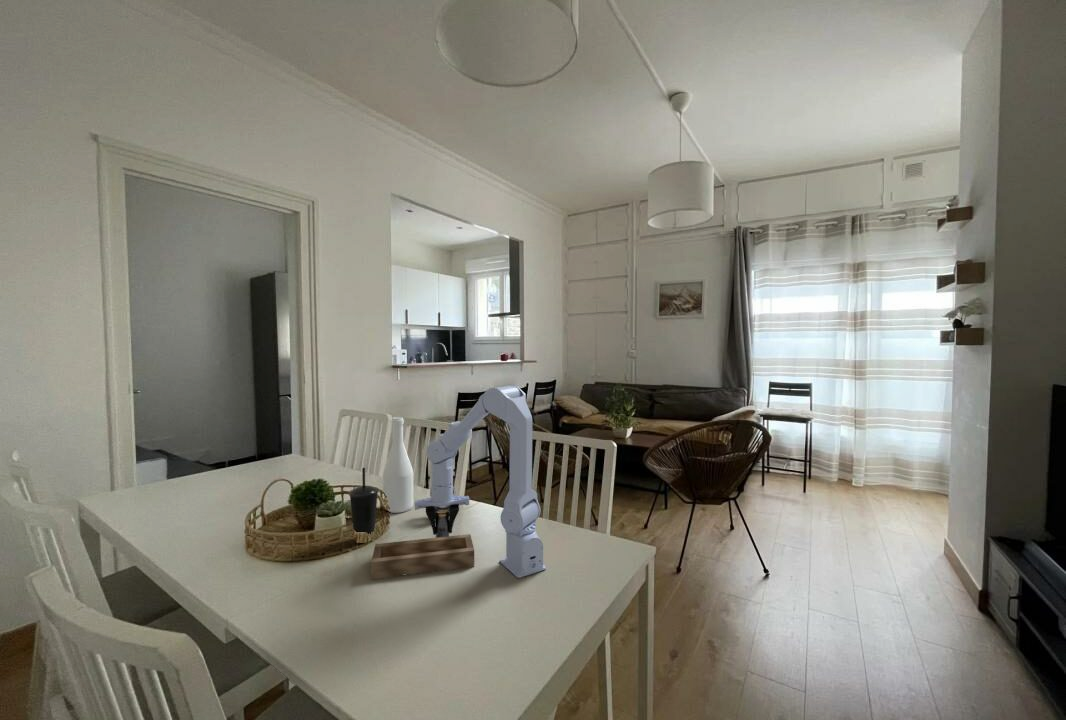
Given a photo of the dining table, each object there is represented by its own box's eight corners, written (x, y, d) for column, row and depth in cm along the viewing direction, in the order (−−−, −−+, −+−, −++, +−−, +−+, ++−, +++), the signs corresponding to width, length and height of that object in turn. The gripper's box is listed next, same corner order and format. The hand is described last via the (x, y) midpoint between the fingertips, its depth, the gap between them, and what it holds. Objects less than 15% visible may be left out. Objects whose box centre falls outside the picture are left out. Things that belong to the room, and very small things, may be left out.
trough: (470, 548, 113) (470, 534, 113) (474, 566, 104) (474, 550, 104) (375, 559, 107) (375, 544, 107) (371, 579, 98) (371, 562, 98)
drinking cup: (383, 534, 121) (383, 464, 120) (371, 547, 114) (370, 472, 113) (358, 533, 122) (357, 463, 121) (343, 545, 114) (342, 471, 114)
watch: (448, 521, 130) (448, 486, 129) (426, 517, 133) (426, 482, 132) (458, 515, 135) (458, 480, 135) (436, 511, 138) (436, 477, 138)
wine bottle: (376, 511, 137) (376, 419, 136) (394, 501, 146) (394, 414, 145) (402, 515, 134) (401, 420, 133) (418, 504, 144) (418, 416, 142)
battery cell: (451, 542, 117) (450, 513, 116) (438, 545, 115) (438, 515, 114) (446, 536, 120) (446, 508, 119) (433, 540, 118) (433, 511, 117)
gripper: (467, 477, 122) (467, 523, 123) (415, 480, 119) (415, 528, 119) (470, 484, 115) (470, 534, 116) (414, 489, 112) (414, 540, 112)
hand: (442, 532), depth 117 cm, fingers closed on battery cell, 4 cm apart
